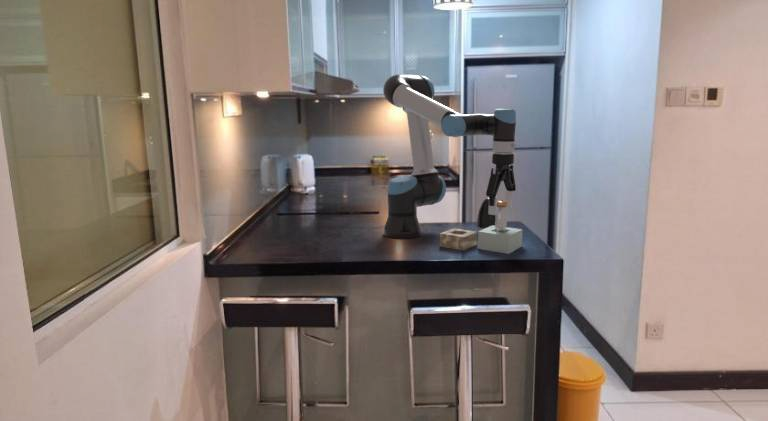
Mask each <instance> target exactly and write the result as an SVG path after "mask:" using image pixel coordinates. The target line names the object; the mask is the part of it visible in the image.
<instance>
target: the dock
mask: <svg viewBox="0 0 768 421" xmlns="http://www.w3.org/2000/svg"><path fill="white" fill-rule="evenodd" d="M523 231H524V230H523V229H522V228H514V227H509V226H508V227H507V226H506V232H505V233H501V232H495V226H494V225H492V226H490V227H488V228H485V229H483V230H481V231H478V230H477V249H478V250H483V251H488V252H489V251H490V252H493V253H495V252H496V253H502V254H507V255H509V254H511V253H513V252H514V251H516V250H518V249H520V248H521V247H522V245H523Z"/></svg>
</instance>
